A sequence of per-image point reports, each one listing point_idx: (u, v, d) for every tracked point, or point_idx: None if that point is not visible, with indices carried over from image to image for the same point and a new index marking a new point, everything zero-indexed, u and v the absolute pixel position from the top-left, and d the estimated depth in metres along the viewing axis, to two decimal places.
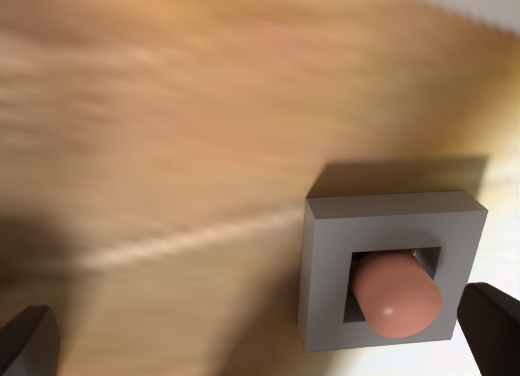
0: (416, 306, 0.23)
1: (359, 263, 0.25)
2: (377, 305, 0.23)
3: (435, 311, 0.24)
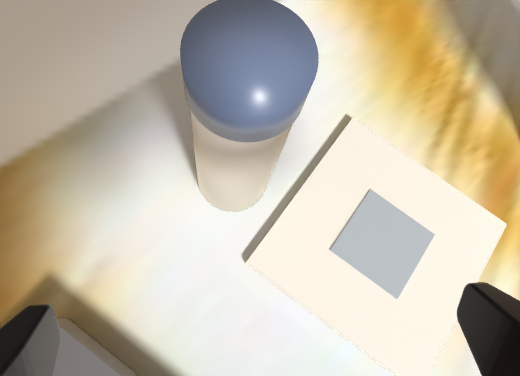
0: None
1: None
2: None
3: None
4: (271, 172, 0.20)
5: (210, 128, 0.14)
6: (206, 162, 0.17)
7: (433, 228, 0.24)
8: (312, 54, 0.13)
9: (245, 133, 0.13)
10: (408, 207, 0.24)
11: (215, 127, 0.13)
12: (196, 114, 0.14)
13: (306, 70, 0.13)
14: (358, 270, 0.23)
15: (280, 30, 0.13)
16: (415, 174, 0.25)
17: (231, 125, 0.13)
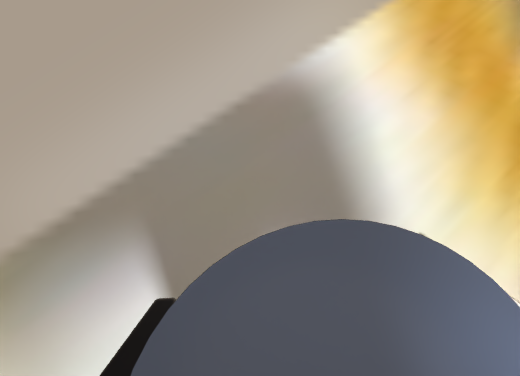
0: None
1: None
2: None
3: None
4: None
5: None
6: None
7: None
8: None
9: None
10: None
11: None
12: None
13: None
14: None
15: (452, 351, 0.04)
16: None
17: None
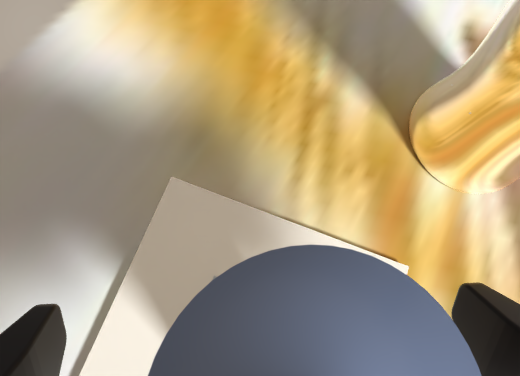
0: None
1: None
2: None
3: None
4: None
5: None
6: None
7: None
8: None
9: None
10: None
11: None
12: None
13: None
14: None
15: (393, 344, 0.05)
16: (273, 233, 0.18)
17: None
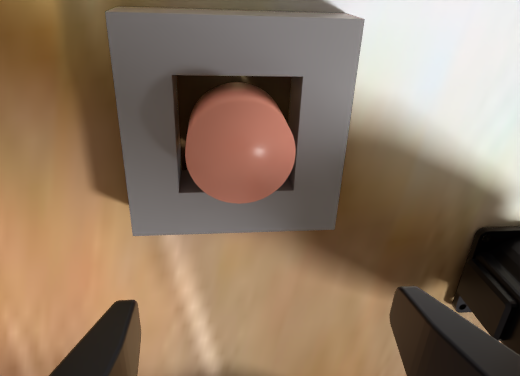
0: (237, 139, 0.16)
1: None
2: (229, 192, 0.17)
3: (251, 108, 0.16)
4: None
5: None
6: None
7: None
8: None
9: None
10: None
11: None
12: None
13: None
14: None
15: None
16: None
17: None
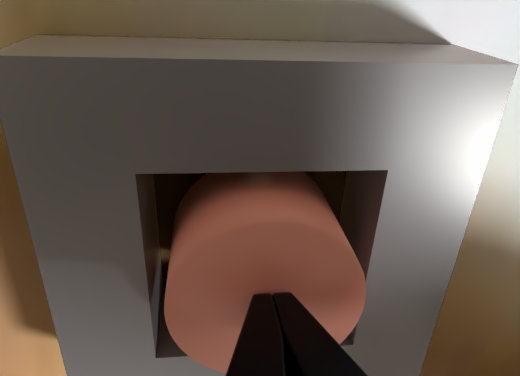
0: (260, 283, 0.09)
1: None
2: None
3: (289, 233, 0.08)
4: None
5: None
6: None
7: None
8: None
9: None
10: None
11: None
12: None
13: None
14: None
15: None
16: None
17: None
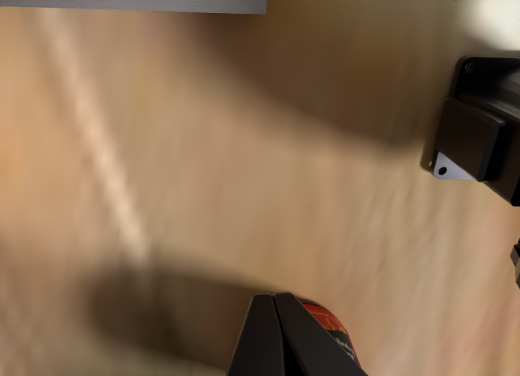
0: None
1: None
2: None
3: None
4: None
5: None
6: None
7: None
8: None
9: None
10: None
11: None
12: None
13: None
14: None
15: None
16: None
17: None
